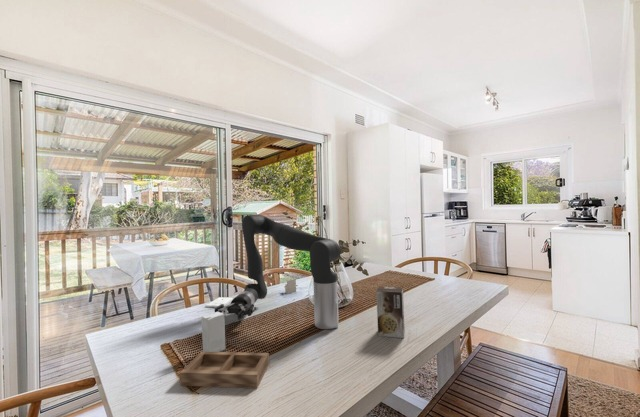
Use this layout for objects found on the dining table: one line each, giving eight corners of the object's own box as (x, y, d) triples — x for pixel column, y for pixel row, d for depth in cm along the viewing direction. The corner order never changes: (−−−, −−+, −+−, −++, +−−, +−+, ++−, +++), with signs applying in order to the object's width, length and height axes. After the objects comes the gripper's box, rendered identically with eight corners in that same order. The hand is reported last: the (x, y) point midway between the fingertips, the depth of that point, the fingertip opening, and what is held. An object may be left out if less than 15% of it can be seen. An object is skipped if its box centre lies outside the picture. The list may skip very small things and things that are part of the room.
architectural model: (283, 293, 164) (283, 279, 164) (294, 290, 168) (294, 277, 168) (287, 294, 161) (286, 280, 161) (298, 292, 165) (297, 278, 165)
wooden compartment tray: (269, 364, 89) (268, 353, 89) (257, 388, 78) (256, 374, 78) (201, 363, 92) (201, 351, 92) (180, 385, 80) (180, 372, 80)
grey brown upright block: (405, 331, 110) (403, 287, 110) (403, 338, 104) (402, 292, 104) (379, 328, 113) (378, 285, 113) (377, 335, 107) (376, 290, 107)
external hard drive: (233, 300, 154) (220, 309, 142) (218, 300, 156) (205, 308, 143) (233, 297, 154) (220, 305, 142) (218, 297, 156) (205, 305, 143)
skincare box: (218, 346, 103) (217, 310, 102) (226, 349, 100) (225, 313, 100) (201, 353, 98) (200, 316, 98) (209, 357, 95) (207, 319, 95)
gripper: (226, 293, 126) (208, 306, 110) (259, 293, 125) (245, 306, 109) (227, 311, 127) (208, 327, 110) (260, 311, 125) (246, 327, 109)
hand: (227, 316), depth 110 cm, fingers open, 8 cm apart
